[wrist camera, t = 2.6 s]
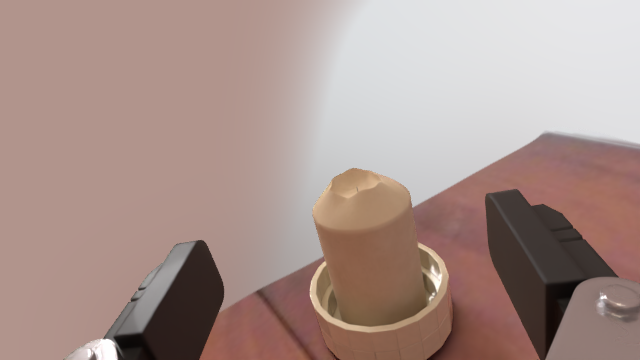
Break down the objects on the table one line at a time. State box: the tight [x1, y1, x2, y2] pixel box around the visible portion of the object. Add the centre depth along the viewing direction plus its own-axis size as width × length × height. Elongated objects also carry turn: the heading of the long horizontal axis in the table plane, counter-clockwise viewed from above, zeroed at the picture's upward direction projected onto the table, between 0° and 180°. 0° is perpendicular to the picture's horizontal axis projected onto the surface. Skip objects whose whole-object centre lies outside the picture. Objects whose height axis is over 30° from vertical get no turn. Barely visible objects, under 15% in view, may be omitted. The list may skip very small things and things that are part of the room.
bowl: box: [310, 242, 453, 360], centre depth 25 cm, size 8×8×4 cm
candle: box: [313, 168, 427, 327], centre depth 24 cm, size 6×6×10 cm
